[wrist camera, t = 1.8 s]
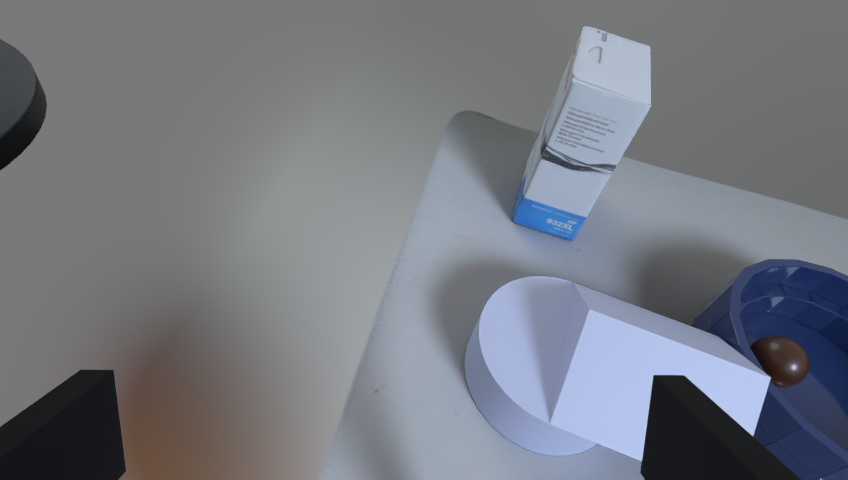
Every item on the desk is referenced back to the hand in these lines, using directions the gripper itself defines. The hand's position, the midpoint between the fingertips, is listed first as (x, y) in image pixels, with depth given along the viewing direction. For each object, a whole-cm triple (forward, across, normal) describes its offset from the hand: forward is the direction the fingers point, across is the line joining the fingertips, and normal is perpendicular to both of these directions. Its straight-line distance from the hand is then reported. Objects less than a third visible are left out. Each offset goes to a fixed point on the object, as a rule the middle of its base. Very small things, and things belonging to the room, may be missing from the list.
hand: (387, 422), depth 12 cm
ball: (+15, +22, -6) cm, 28 cm away
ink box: (+28, +11, +2) cm, 30 cm away
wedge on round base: (+14, +10, -7) cm, 19 cm away
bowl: (+16, +25, -8) cm, 30 cm away
